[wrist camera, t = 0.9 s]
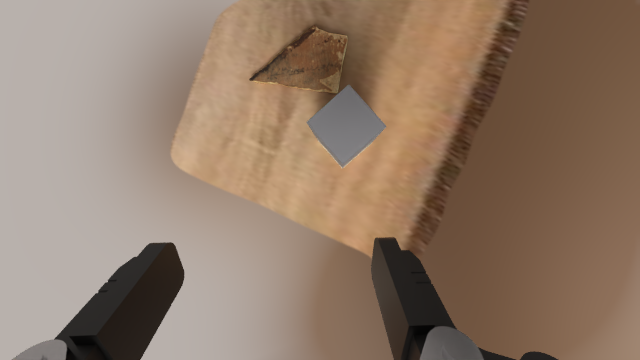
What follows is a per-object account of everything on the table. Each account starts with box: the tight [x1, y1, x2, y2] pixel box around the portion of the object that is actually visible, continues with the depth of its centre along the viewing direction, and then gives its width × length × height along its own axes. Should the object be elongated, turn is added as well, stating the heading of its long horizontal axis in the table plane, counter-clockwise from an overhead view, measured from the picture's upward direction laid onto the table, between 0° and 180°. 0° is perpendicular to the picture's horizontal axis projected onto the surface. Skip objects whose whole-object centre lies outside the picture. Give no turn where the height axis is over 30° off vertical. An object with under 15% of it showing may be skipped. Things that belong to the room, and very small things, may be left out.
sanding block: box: [307, 84, 386, 169], centre depth 24 cm, size 5×5×10 cm
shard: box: [249, 25, 348, 93], centre depth 29 cm, size 11×8×2 cm
